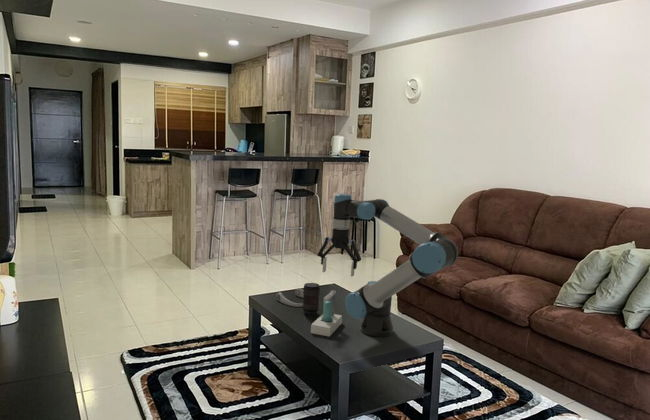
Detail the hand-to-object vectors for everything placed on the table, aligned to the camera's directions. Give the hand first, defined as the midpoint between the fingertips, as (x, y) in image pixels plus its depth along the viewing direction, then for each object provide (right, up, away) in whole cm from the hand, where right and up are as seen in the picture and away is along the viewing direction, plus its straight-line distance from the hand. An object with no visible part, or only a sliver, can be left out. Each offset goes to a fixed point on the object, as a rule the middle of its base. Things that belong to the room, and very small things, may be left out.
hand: (338, 273), depth 229 cm
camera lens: (-13, -23, +23) cm, 35 cm away
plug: (-5, -24, +4) cm, 25 cm away
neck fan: (-21, -21, +41) cm, 50 cm away
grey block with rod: (-5, -26, +5) cm, 27 cm away
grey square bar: (-4, -12, +4) cm, 13 cm away
